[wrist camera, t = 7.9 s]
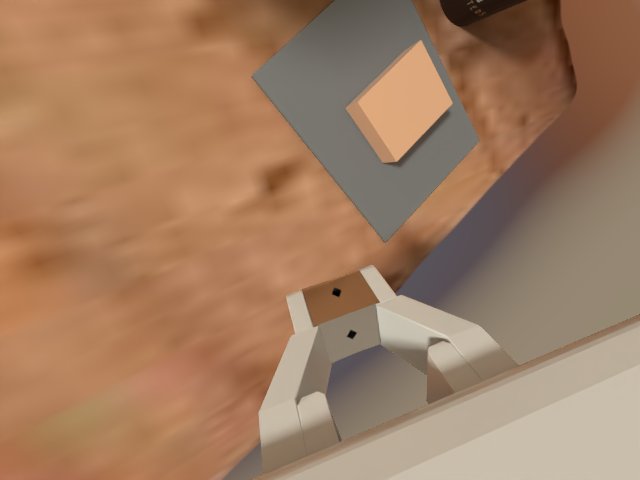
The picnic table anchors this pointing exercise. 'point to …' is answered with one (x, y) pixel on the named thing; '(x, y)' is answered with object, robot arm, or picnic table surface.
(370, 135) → the light orange block
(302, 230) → the picnic table surface
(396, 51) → the mat
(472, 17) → the coffee mug
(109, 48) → the picnic table surface
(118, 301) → the picnic table surface
